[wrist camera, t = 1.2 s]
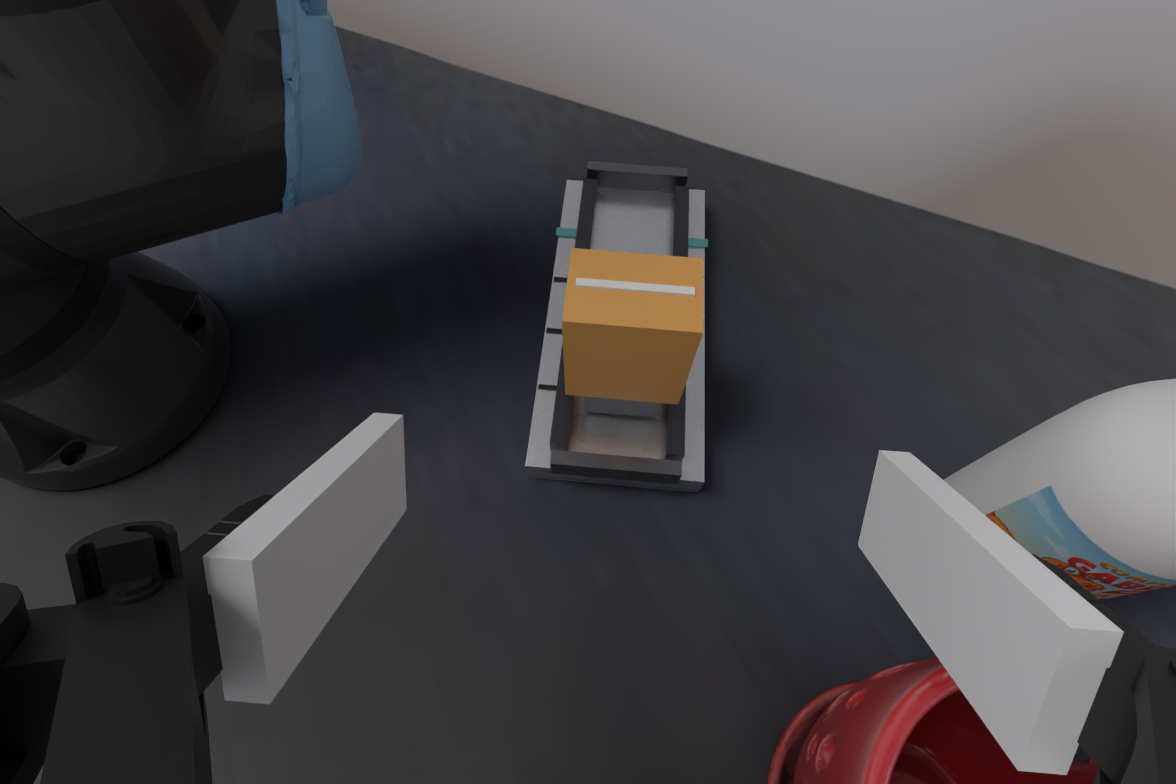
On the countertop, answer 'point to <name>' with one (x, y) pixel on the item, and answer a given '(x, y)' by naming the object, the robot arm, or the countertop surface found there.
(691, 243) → the fader strip
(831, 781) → the plant pot
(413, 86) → the countertop surface
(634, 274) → the fader knob
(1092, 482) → the milk bottle
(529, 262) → the countertop surface
